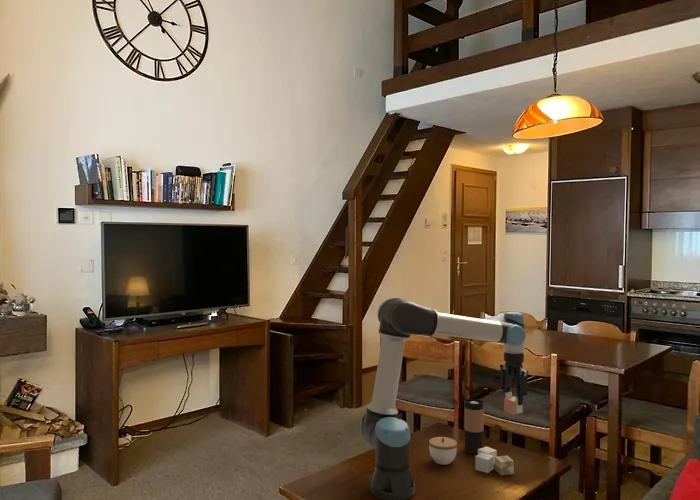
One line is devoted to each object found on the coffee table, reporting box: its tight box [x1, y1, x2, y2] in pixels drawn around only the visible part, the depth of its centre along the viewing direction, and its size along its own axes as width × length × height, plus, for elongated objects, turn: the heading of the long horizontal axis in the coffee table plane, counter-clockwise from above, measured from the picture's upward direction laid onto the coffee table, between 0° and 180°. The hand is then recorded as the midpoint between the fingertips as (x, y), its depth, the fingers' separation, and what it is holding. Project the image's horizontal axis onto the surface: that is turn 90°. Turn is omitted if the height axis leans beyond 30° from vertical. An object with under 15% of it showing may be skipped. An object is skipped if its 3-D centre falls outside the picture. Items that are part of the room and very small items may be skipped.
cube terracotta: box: [503, 396, 524, 415], centre depth 215 cm, size 5×5×5 cm
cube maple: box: [494, 455, 515, 476], centre depth 203 cm, size 5×5×5 cm
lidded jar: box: [428, 436, 458, 466], centre depth 212 cm, size 11×11×9 cm
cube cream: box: [477, 446, 498, 465], centre depth 211 cm, size 5×5×5 cm
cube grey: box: [474, 453, 495, 474], centre depth 205 cm, size 5×5×5 cm
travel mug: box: [463, 398, 485, 454], centre depth 223 cm, size 8×8×20 cm
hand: (513, 410), depth 215 cm, fingers closed on cube terracotta, 5 cm apart
